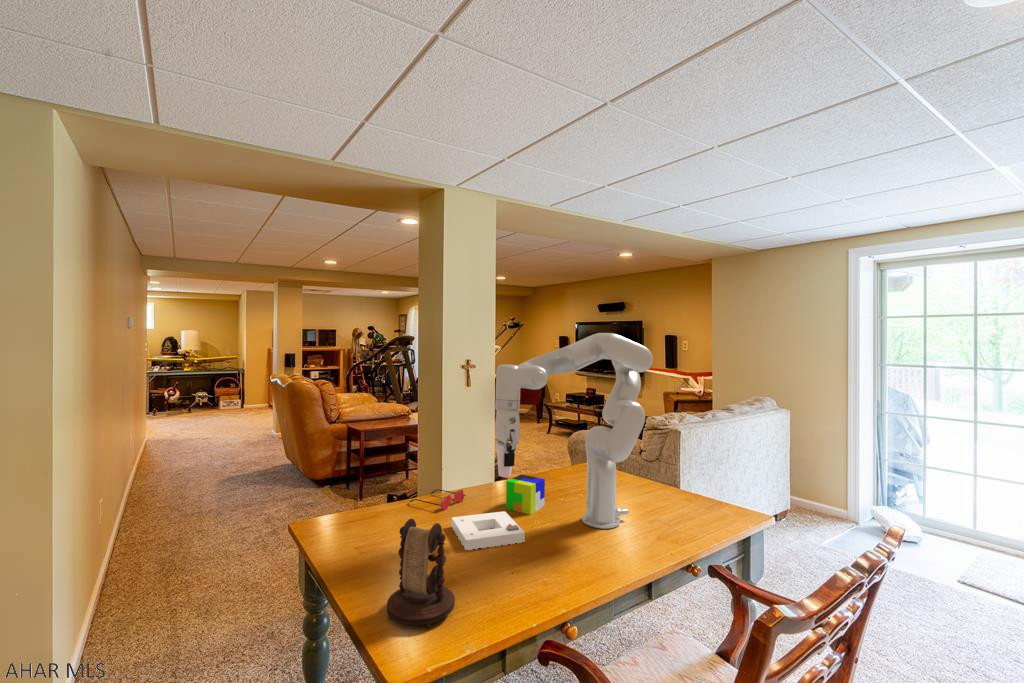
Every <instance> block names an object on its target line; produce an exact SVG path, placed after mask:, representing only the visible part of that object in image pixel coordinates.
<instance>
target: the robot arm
mask: <svg viewBox="0 0 1024 683" xmlns="http://www.w3.org/2000/svg"><path fill="white" fill-rule="evenodd" d="M602 360H610V361H611V364H612V366H613V368H614V371H615V376H616V377H615V383H614V386H613V387H612V390H611V391H610V393H609V396H608V397H607V400H606V402H605V404H604V406H603V408H602V412H601V414H602V415H601V416H602V418H603V420H604V421H605V422H606V423H607V424H609V425H611V426H612V428H610V427H607V426H605V425H595V426H593V427H592V428H590V429H588V431H587V433H586V435H585V438H584V439H585V440H584V441H585V442H584V445H585V451H586V462H587V463H586V467H587V468H586V470H587V471H586V510H585V511H586V512H585V513H583V514H582V516H581V521H582V523H583V524H585V525H586V526H589V527H592V528H595V529H601V530H603V529H613V528H614V529H615V528H617V527H619V526H620V524H621V519H620V517H621V516H624V515H629V509H628V508H627V507H625V508H621V507H620V506H616V505H617V504H616V503H617V499H616V498H617V496H616V495H617V493H616V492H617V463H621V462H623V461H625V460H627V459H628V457H629V456H630V455H631V453H632V451H633V450H634V447H635V445H636V443H637V441H638V439H639V437H640V434H641V433H642V430H643V428H644V424H645V421H646V413H645V410H644V407H643V406H642V405H641V404H640V403H639V402H637V399H638V396H639V394H640V392H641V388H642V386H641V385H642V381H641V375H640V373H644V372H646V371H648V370H649V369H650V368H652V365H653V362H654V357H653V354H652V352H651V350H650V349H649V348H647V347H646V346H644V345H642V344H640V343H638V342H635V341H633V340H631V339H629V338H626V337H625V336H622V335H619V334H617V333H613V332H597V333H595V334H594V333H593V334H591V335H589V336H586V337H584V338H583V339H580V340H578V341H576V342H574V343H571V344H568V345H566V346H563V347H561V348H558V349H555V350H553V351H550V352H546V353H543V354H541V355H540V354H539V355H537V356H536V357H535V356H534V357H533V358H531V359H528V360H526V361H523V362H522V363H520V364H518V365H516V364H499V365H498V366H497V367H496V378H495V380H496V382H495V383H496V384H495V402H494V403H495V404H494V409H495V410H496V414H495V424H494V425H495V428H494V431H495V432H494V436H495V438H496V443H498V442H503V443H505V452H506V453H504V466H505V467H510V466H512V467H514V466H515V456H516V455H515V454H516V448H517V447H518V444H519V443H520V442H521V441H520V439H521V436H520V435H521V428H520V427H521V426H520V425H521V422H520V410H521V409H520V405H521V389H528V390H540V389H542V388H544V387H545V386H546V385H547V382H548V380H549V379H548V378H549V376H553V375H558V374H559V375H560V374H569V373H574V372H576V371H579V370H581V369H583V368H585V367H587V366H589V365H591V364H594V363H596V362H598V361H602ZM507 442H510V443H507ZM508 445H511V446H509V448H508ZM495 459H496V461H497V454H496V458H495Z"/></svg>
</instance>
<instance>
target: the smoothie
mask: <svg viewBox="0 0 1024 683" xmlns="http://www.w3.org/2000/svg"><path fill="white" fill-rule="evenodd" d="M510 442H511V441H508V442H507V443H510ZM509 446H511V445H508V448H509ZM495 449H496V455H497V460H496V461H497V472H498V477H501V478H509V477H511V475H512V468H513V466H510V467H505V466H504V453H506V452H505V443H503V442H498V443H497V442H496V443H495Z"/></svg>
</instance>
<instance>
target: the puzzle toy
mask: <svg viewBox="0 0 1024 683" xmlns="http://www.w3.org/2000/svg"><path fill="white" fill-rule="evenodd" d="M545 482H546V479H545V478H541V477H537V476H531V475H528V474H527V475H526V474H519V475H517V476H515V477H512V478H509V479H508V480H506V489H505V490H506V493H505V494H506V495H505V496H506V498H505V499H506V500H505V504H506V505H505V508H508V509H507V510H509V509H512V510H511V511H513V510H515V511H514V512H517V511H519V512H518V513H521V512H523V513H522V514H525V513H527V514H526V515H529V514H531V515H532V513H533V514H534V513H536V512H538V511H539V510H541V509H543V508H544V507H545V497H546V496H545V495H546V493H545V490H546V489H545V487H546V485H545V484H546V483H545ZM543 506H544V507H543ZM542 507H543V508H542ZM540 508H541V509H540ZM537 510H538V511H537ZM535 511H536V512H535Z"/></svg>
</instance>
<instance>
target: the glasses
mask: <svg viewBox="0 0 1024 683" xmlns="http://www.w3.org/2000/svg"><path fill="white" fill-rule="evenodd" d="M438 491H440V492H445V493H450V494H448V495H446V496H445V497H443V498H442V500H441V502H440V504H439V503H436V502H432V501H431V502H430V501H426V500H422V499H416V498H414V499H411V500H410V501H409V502H411V503H412V502H414V501H418V502H423V503H427V504H431V505H435V506H439V507H440V509H442V510H444V511H446V510H448V508H449V506H450V504H452V501H453V502H461V503H462V502H464V498H465V497H466V496H467V495H466V494H464V489H460V490H458V491H455V492H453V491H449V490H443V489H435V490H433V491H432V492H430V494H431V495H432V494H434V493H435V492H438ZM451 495H454V496H453V497H454V498H453V497H452V496H451Z"/></svg>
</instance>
